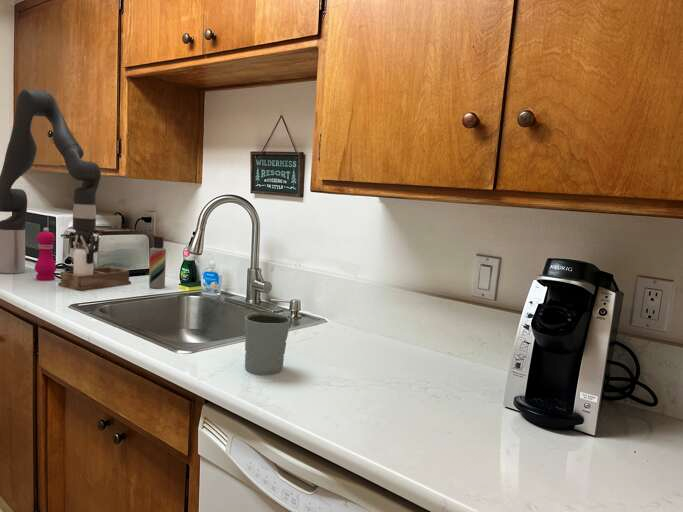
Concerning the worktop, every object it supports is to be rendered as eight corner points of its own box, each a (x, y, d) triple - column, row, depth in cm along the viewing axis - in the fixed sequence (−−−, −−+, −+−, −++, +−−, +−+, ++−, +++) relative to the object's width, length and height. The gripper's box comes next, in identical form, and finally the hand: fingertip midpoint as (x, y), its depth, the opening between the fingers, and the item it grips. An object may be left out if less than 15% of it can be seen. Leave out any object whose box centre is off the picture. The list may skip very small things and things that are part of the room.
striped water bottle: (146, 286, 198) (148, 234, 195) (161, 285, 202) (162, 235, 199) (152, 289, 194) (154, 236, 191) (167, 288, 197) (168, 236, 195)
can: (74, 282, 184) (75, 249, 183) (72, 278, 189) (72, 246, 188) (94, 281, 188) (95, 248, 187) (91, 278, 193) (91, 246, 192)
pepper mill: (30, 279, 194) (30, 226, 192) (46, 276, 201) (46, 226, 199) (45, 281, 192) (45, 228, 190) (60, 279, 199) (61, 227, 197)
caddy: (58, 285, 187) (58, 271, 187) (108, 279, 206) (109, 266, 205) (81, 291, 181) (81, 276, 181) (130, 284, 200) (131, 271, 199)
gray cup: (233, 366, 118) (236, 315, 116) (267, 358, 125) (270, 310, 124) (261, 379, 111) (264, 325, 109) (295, 370, 118) (299, 319, 117)
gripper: (62, 215, 186) (61, 260, 188) (87, 218, 179) (86, 265, 181) (81, 215, 193) (80, 258, 195) (106, 218, 186) (105, 264, 188)
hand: (83, 262), depth 188 cm, fingers closed on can, 6 cm apart
